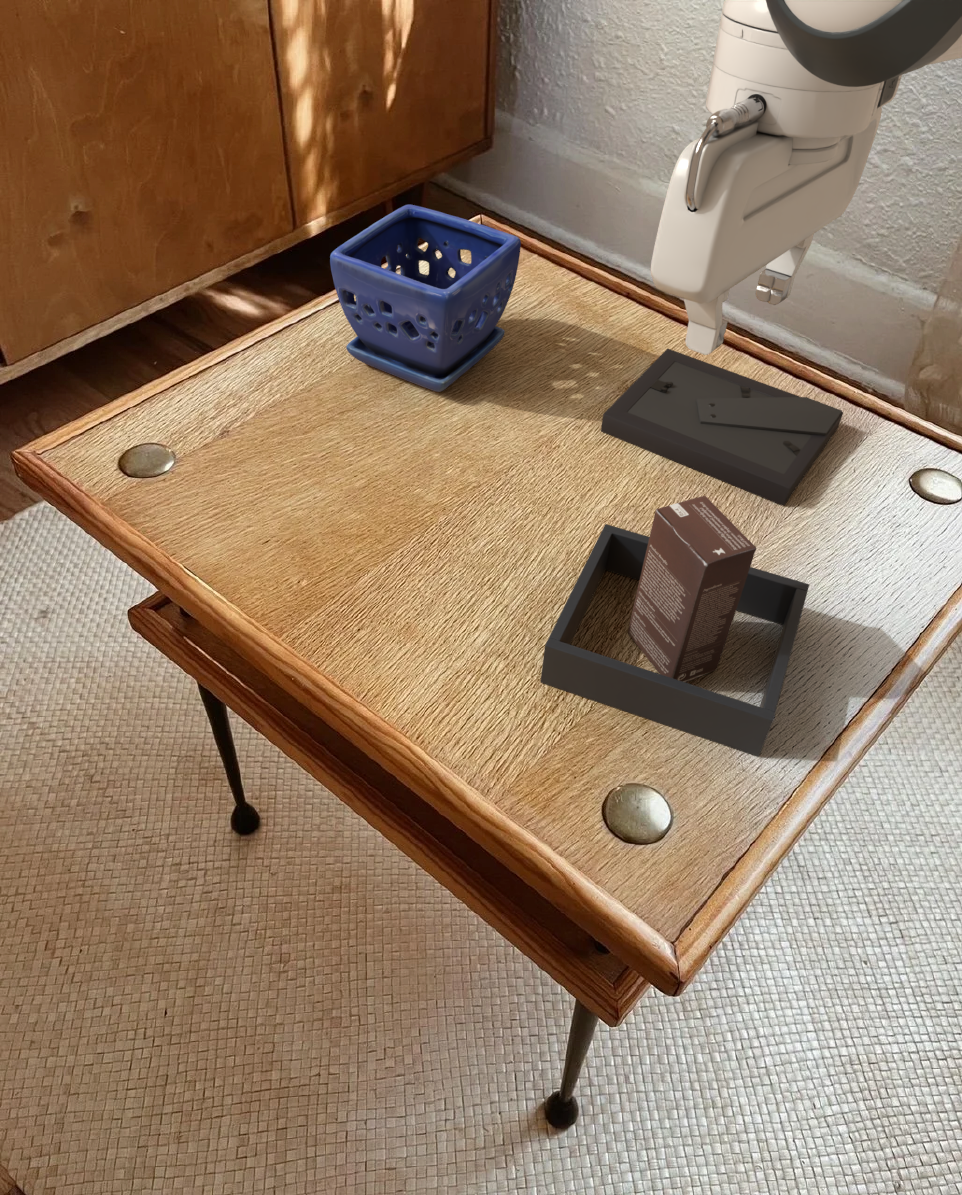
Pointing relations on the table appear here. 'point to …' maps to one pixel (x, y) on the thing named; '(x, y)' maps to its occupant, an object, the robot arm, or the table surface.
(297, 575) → the table surface
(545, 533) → the table surface
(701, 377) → the picture frame
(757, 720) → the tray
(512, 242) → the flower pot
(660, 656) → the box
